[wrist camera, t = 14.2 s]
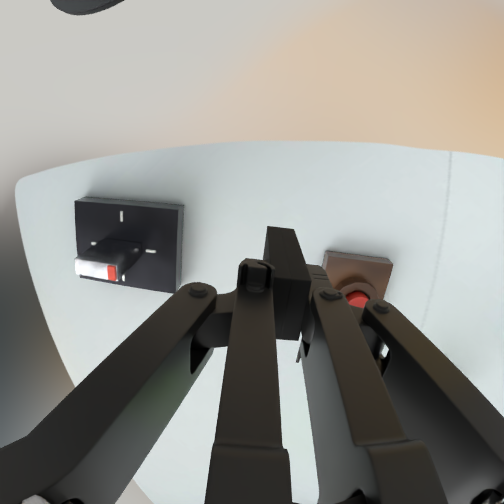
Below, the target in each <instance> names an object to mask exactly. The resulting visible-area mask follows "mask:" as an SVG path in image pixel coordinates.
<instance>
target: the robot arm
mask: <svg viewBox="0 0 504 504" xmlns="http://www.w3.org/2000/svg"><path fill="white" fill-rule="evenodd" d="M300 332H301V333H302V340H301V344H300V347H299V351H298V355H297V359H296V362H297V363H299V360H300V358H301V360H302V366H303V373H304V379H305V386H306V393H307V400H308V407H309V414H310V421H311V429H312V436H313V444H314V451H315V459H316V467H317V476H318V484H319V499H318V503H317V504H504V417H503V416H502V415H501V414H500V413H499V412H498V411H497V409H496V408H495V407H494V406H493V405H492V404H491V403H490V402H489V401H488V400H487V399H486V397H485V396H484V395H483V394H482V393H481V392H480V391H479V390H478V389H477V388H476V387H475V386H474V385H473V384H472V383H471V382H470V380H469V379H468V378H467V377H466V376H465V375H464V374H463V373H462V372H461V371H460V370H459V369H458V368H457V367H456V366H455V365H454V364H453V363H452V362H451V361H450V360H449V359H448V358H447V357H446V356H445V355H444V354H443V353H442V352H441V351H440V350H439V349H438V348H437V347H436V346H435V345H434V344H433V343H432V342H431V341H430V340H429V339H428V338H427V337H426V336H425V335H424V334H423V333H422V332H421V331H420V330H419V329H418V328H417V327H415V326H414V325H413V324H412V323H411V322H410V321H409V320H408V319H407V318H406V317H405V316H404V315H403V314H402V313H401V312H400V311H399V310H397V309H396V308H395V307H394V306H393V305H392V304H390V303H388V302H386V301H385V300H381V299H370V300H368V301H366V302H365V306H364V308H360V307H356V306H353V305H349V303H348V301H347V299H346V297H345V295H344V294H343V293H342V292H340V291H338V290H336V289H333V286H332V284H331V282H330V280H329V278H328V276H327V273H326V271H325V270H324V269H323V268H322V267H320V266H319V265H310V264H306V263H305V260H304V257H303V254H302V251H301V248H300V245H299V242H298V239H297V237H296V234H295V231H294V229H288V228H280V227H271V226H267V233H266V241H265V248H264V256H263V260H257V259H248V258H246V259H245V260H243V261H242V262H241V263H240V265H239V269H238V279H237V288H236V289H235V290H234V291H232V292H230V293H226V294H217V291H216V289H215V288H214V287H213V286H211V285H208V284H205V283H201V282H197V283H196V282H193V283H189V284H186V285H184V286H182V287H181V288H180V289H179V290H178V291H177V292H176V293H174V294H173V295H172V296H171V297H170V298H169V299H168V300H167V301H166V302H165V303H164V304H163V305H162V306H160V307H159V308H158V309H157V310H156V311H155V312H154V313H153V314H152V315H151V316H150V317H149V318H148V319H147V320H146V321H144V322H143V323H142V324H141V325H140V326H139V327H138V328H137V329H136V330H135V331H134V332H133V333H132V334H131V335H130V336H129V337H128V338H126V339H125V340H124V341H123V342H122V343H121V344H120V345H119V346H118V347H117V348H116V349H115V350H114V351H113V352H112V353H111V354H110V355H109V356H108V357H107V358H106V359H104V360H103V361H102V362H101V363H100V364H99V365H98V366H97V367H96V368H95V369H94V370H93V371H92V372H91V373H90V374H89V375H88V376H87V377H86V378H85V379H84V380H83V381H82V382H81V383H80V384H79V385H78V386H77V387H76V388H75V389H74V390H73V391H72V392H71V393H69V394H68V396H66V398H64V400H62V401H61V402H60V403H59V404H58V406H57V407H55V409H53V410H52V411H51V412H50V413H49V414H48V415H47V416H46V417H45V418H44V419H43V420H42V421H41V422H40V423H39V424H38V425H37V426H36V427H35V428H34V429H33V430H32V431H31V432H30V433H29V434H28V435H27V436H26V437H23V438H22V439H19V440H18V441H15V442H13V443H11V444H9V445H7V446H4V447H3V448H0V504H115V502H116V501H117V500H118V498H119V497H120V495H121V494H122V493H123V491H124V490H125V488H126V486H127V485H128V484H129V482H130V481H131V479H132V478H133V476H134V475H135V473H136V472H137V470H138V469H139V467H140V466H141V464H142V463H143V461H144V460H145V458H146V457H147V455H148V453H149V452H150V450H151V449H152V447H153V446H154V444H155V443H156V441H157V440H158V438H159V437H160V435H161V434H162V432H163V430H164V429H165V427H166V426H167V424H168V423H169V421H170V420H171V418H172V417H173V415H174V413H175V412H176V410H177V409H178V407H179V406H180V404H181V403H182V401H183V399H184V398H185V396H186V395H187V393H188V392H189V390H190V388H191V387H192V385H193V384H194V382H195V381H196V379H197V377H198V376H199V374H200V373H201V371H202V369H203V368H204V366H205V365H206V363H207V362H208V360H209V358H210V357H211V355H212V353H213V350H214V348H216V347H226V346H228V349H227V356H226V362H225V369H224V376H223V383H222V390H221V397H220V405H219V412H218V419H217V426H216V433H215V440H214V443H213V446H212V452H211V459H210V466H209V473H208V481H207V488H206V496H205V503H204V504H299V503H293V502H292V492H291V475H290V461H289V453H288V451H287V449H283V446H282V432H281V414H280V396H279V380H278V364H277V349H276V339H282V340H295V341H298V340H299V336H300ZM385 344H386V346H387V347H388V348H389V351H388V353H387V355H386V357H384V356H383V355H382V354H381V352H382V350H383V347H384V345H385Z"/></svg>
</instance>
